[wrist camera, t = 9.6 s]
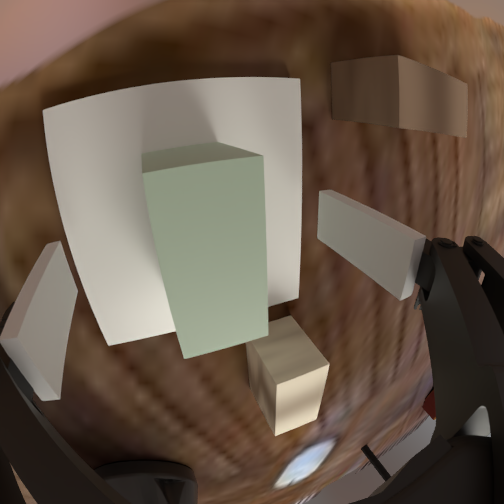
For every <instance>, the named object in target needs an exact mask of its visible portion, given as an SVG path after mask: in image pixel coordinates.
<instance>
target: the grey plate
mask: <svg viewBox="0 0 504 504" xmlns="http://www.w3.org/2000/svg"><path fill="white" fill-rule="evenodd" d="M43 119H44V128H45V136H46V144H47V151H48V157H49V163H50V169H51V174H52V179H53V184H54V189H55V193H56V198H57V202H58V206H59V210H60V214H61V218H62V222H63V226H64V229H65V233H66V236H67V240H68V243H69V246H70V250H71V253H72V256H73V259H74V262H75V265H76V268H77V271H78V274H79V276H80V279H81V282H82V285H83V287H84V290H85V293H86V295H87V298H88V300H89V303H90V305H91V308H92V310H93V312H94V315H95V317H96V319H97V322H98V324H99V326H100V329H101V331H102V333H103V335H104V337H105V339H106V342H107V344H108V346H110V345H115V344H120V343H124V342H129V341H134V340H139V339H143V338H148V337H152V336H157V335H161V334H165V333H170V332H174V331H176V329H175V326H174V322H173V318H172V315H171V311H170V307H169V303H168V299H167V295H166V291H165V287H164V283H163V279H162V275H161V271H160V266H159V262H158V257H157V253H156V248H155V243H154V238H153V233H152V228H151V223H150V218H149V212H148V206H147V201H146V195H145V189H144V182H143V176H142V157H141V154H142V153H147V152H152V151H158V150H164V149H170V148H176V147H182V146H189V145H196V144H204V143H212V142H220V143H224V144H227V145H230V146H234V147H237V148H241V149H244V150H247V151H250V152H254V153H257V154H260V155H263V157H264V183H265V212H266V246H267V285H268V307H269V306H273V305H276V304H280V303H283V302H286V301H290V300H293V299H296V298H298V296H299V276H300V251H301V214H302V123H301V89H300V79H296V78H276V77H227V78H207V79H193V80H182V81H173V82H165V83H157V84H150V85H144V86H137V87H132V88H126V89H121V90H116V91H111V92H106V93H102V94H98V95H93V96H89V97H85V98H82V99H78V100H74V101H71V102H67V103H64V104H60V105H57V106H54V107H51V108H48V109H45V110H43Z"/></svg>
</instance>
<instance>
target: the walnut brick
mask: <svg viewBox="0 0 504 504" xmlns="http://www.w3.org/2000/svg"><path fill="white" fill-rule="evenodd" d="M331 87H332V119H334V120H345V121H354V122H362V123H369V124H377V125H383V126H390V127H396V128H403V129H412V130H420V131H427V132H434V133H441V134H447V135H453V136H458V137H464V138H467V115H468V90H467V84H466V83H464V82H462V81H460V80H458V79H456V78H454V77H451V76H449V75H447V74H445V73H443V72H441V71H438V70H436V69H434V68H431V67H429V66H426V65H424V64H421V63H419V62H416V61H414V60H411V59H408V58H405V57H403V56H400V55H388V56H377V57H367V58H359V59H352V60H345V61H338V62H332V63H331Z"/></svg>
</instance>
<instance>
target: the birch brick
mask: <svg viewBox="0 0 504 504" xmlns="http://www.w3.org/2000/svg"><path fill="white" fill-rule="evenodd" d="M246 351H247V362H248V373H249V384H250V389H251V391H252V393H253V395H254V397H255V399H256V401H257V403H258V405H259V407H260V409H261V411H262V413H263V414H264V416H265V418H266V420H267V422H268V424H269V426H270V428H271V430H272V431H273V433H274V435H275V436H277V435H279V434H282V433H284V432H287V431H289V430H292V429H294V428H297V427H299V426H301V425H304V424H306V423H308V422H311V421H313V420H315V419H317V415H318V411H319V407H320V403H321V399H322V395H323V391H324V387H325V382H326V378H327V374H328V369H329V365H330V364H329V362H328V361H327V360H326V359H325V357H324V356H323V355H322V354H321V352H320V351H319V350H318V349H317V348H316V346H315V345H314V344H313V343H312V341H311V340H310V339H309V338H308V336H307V335H306V334H305V333H304V331H303V330H302V329H301V328H300V326H299V325H298V324H297V322H296V321H295V320H294V319H293V317H292V316H291V315H290V316H287V317H284V318H281V319H278V320H274V321H271V322H268V336H264V337H261V338H258V339H255V340H251V341H248V342H246Z"/></svg>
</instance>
